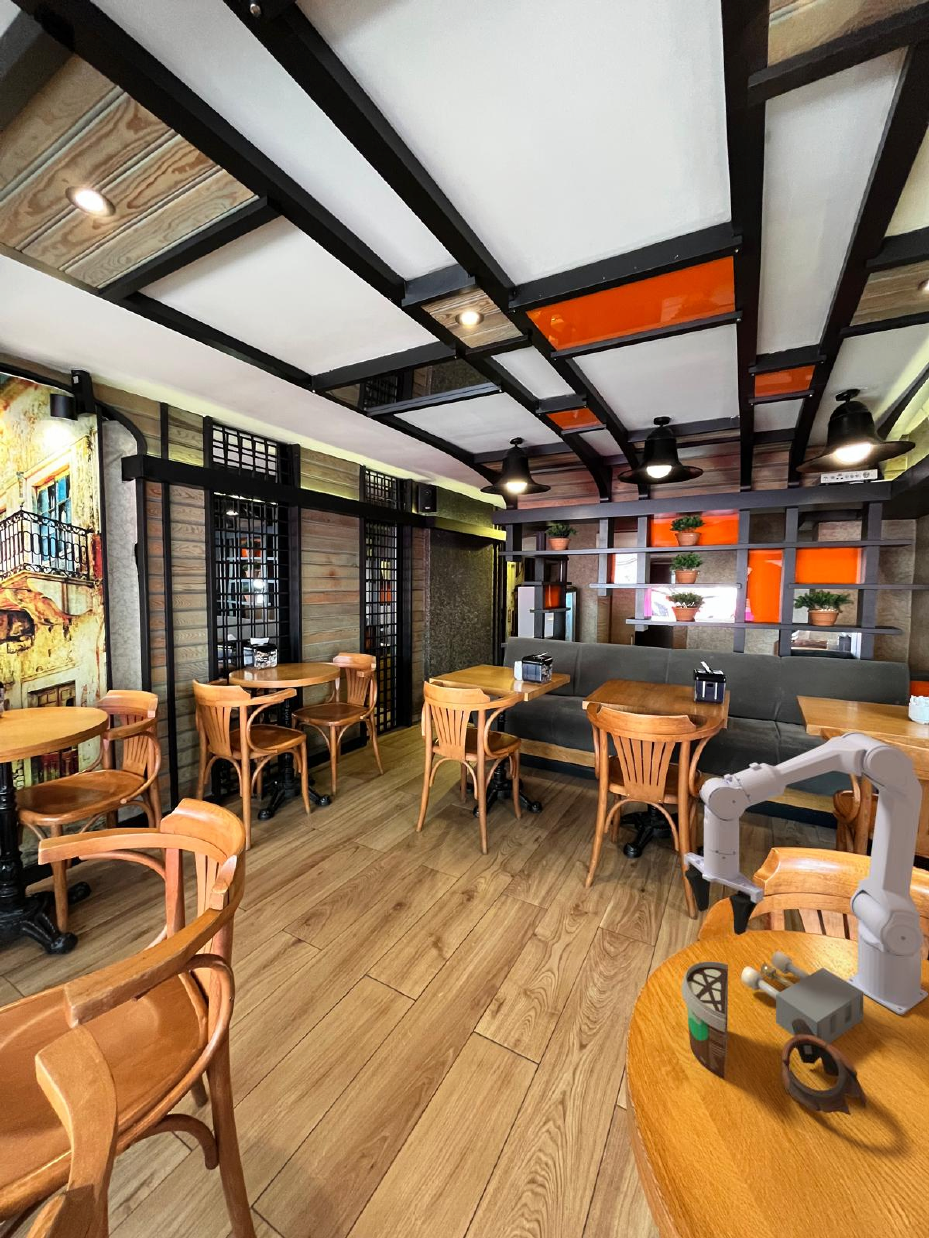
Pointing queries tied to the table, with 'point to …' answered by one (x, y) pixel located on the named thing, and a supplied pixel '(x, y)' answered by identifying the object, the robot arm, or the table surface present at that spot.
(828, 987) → the grey slotted box
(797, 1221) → the table surface
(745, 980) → the knob
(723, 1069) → the food container
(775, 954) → the knob
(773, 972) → the pot shaft
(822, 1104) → the jagged brown ring
